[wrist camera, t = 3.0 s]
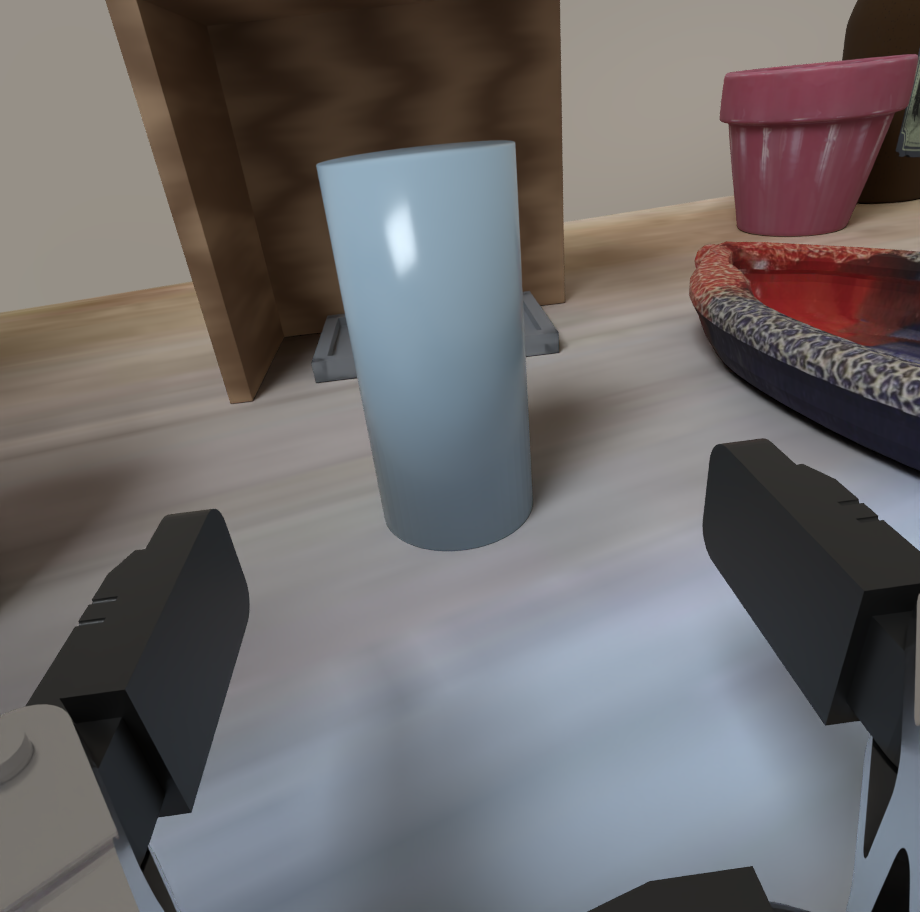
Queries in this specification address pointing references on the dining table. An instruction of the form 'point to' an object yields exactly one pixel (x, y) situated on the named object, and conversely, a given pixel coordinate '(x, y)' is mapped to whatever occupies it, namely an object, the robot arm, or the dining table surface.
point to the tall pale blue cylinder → (437, 334)
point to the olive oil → (912, 129)
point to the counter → (328, 136)
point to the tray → (338, 358)
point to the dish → (821, 333)
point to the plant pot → (809, 139)
